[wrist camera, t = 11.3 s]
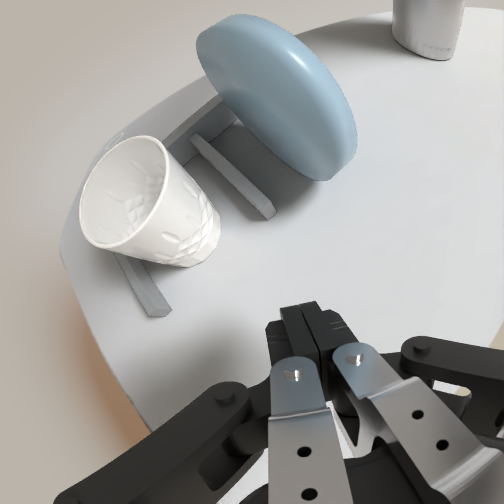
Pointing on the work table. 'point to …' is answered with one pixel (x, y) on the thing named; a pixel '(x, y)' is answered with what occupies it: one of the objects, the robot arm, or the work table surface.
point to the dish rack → (259, 117)
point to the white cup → (147, 206)
